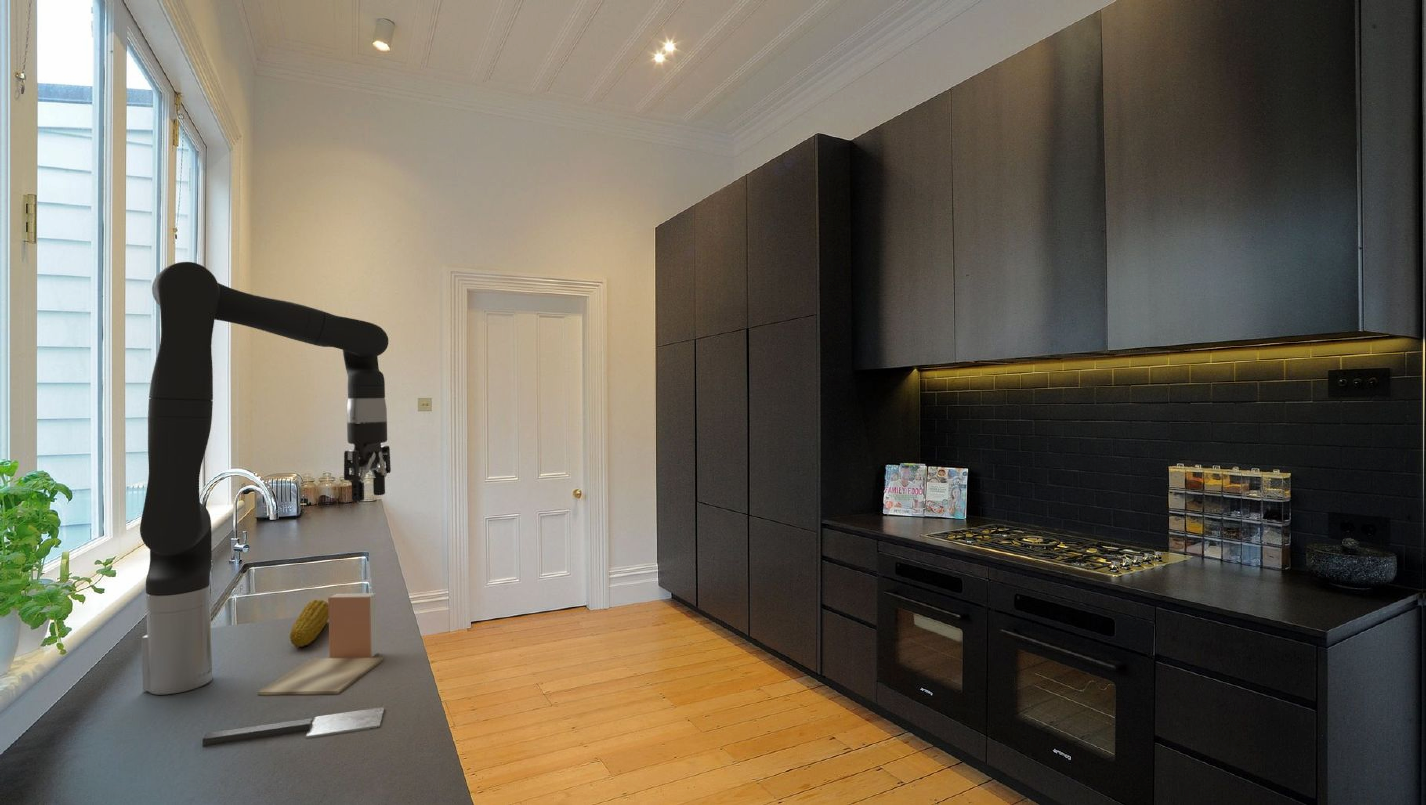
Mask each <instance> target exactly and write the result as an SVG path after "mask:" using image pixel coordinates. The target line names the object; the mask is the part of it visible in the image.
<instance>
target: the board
mask: <svg viewBox="0 0 1426 805" xmlns="http://www.w3.org/2000/svg"><path fill="white" fill-rule="evenodd" d="M383 658H384V657H372V658H330V657H323V658H322V657H315V658H314V657H313V658H312V657H311V658H310V659H308V660H306V661H305V662H304V663H301V664H300V665H299V666H297V667H296V668H293V669H292V670H290V671H289V672H287V673H285V675H282V676H281V677H279V678H278V679H276V680H275V681H273V682H271V683H270V684H268V685H267V686H265V687H263V688H262V689H260V690H259V691H257V695H259V696H262V695H263V696H265V695H266V696H267V695H270V696H271V695H339V694H340V693H342V692H343V691H344V690H346V689H347V688H348V687H349V686H351V685H352V684H353V683H355V682H356V681H357V680H359V679H360V678H361V677H362V676H364V675H366V674H367V673H368V672H369V671H370V670H372V669H373V668H374V667H376V666H377V665H378V664H380V663H381V662H382V661H383V660H384V659H383Z"/></svg>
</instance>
